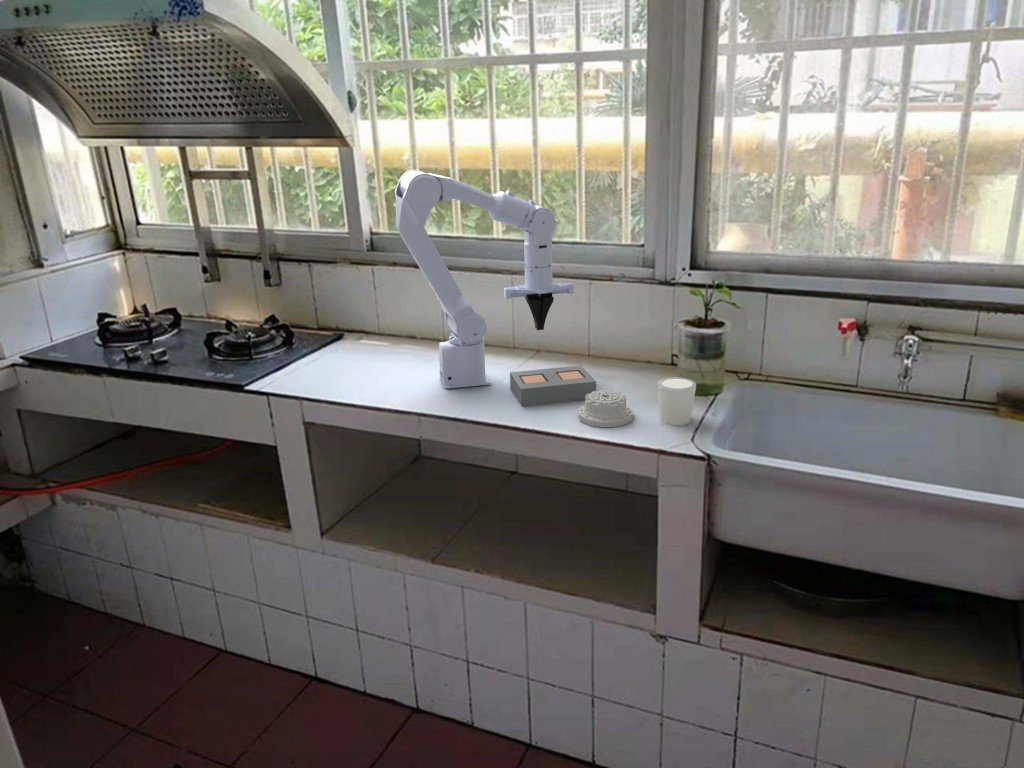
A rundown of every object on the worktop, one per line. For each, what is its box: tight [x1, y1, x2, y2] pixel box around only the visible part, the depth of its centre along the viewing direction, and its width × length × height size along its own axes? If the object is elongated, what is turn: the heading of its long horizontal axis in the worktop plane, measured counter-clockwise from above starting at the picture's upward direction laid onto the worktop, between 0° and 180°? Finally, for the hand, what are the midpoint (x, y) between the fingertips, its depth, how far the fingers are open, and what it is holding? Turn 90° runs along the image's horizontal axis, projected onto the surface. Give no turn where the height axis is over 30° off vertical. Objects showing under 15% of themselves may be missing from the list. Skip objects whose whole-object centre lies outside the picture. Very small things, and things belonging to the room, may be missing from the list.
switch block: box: [509, 365, 597, 407], centre depth 158 cm, size 15×10×4 cm, turn 102°
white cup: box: [657, 376, 697, 426], centre depth 143 cm, size 7×7×7 cm
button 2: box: [558, 371, 584, 380], centre depth 159 cm, size 4×4×3 cm
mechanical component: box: [577, 389, 634, 428], centre depth 146 cm, size 10×4×10 cm
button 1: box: [521, 375, 546, 384], centre depth 157 cm, size 4×4×3 cm
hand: (539, 328), depth 169 cm, fingers closed
